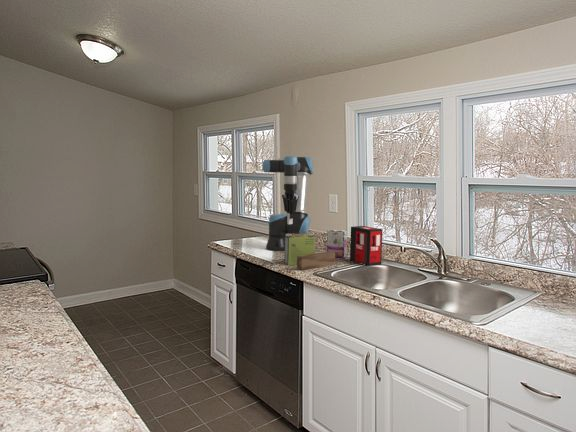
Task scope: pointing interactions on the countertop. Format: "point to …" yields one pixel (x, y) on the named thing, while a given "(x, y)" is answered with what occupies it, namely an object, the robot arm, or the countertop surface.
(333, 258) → the walnut block
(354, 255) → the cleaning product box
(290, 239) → the protein box
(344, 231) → the candy bar box
